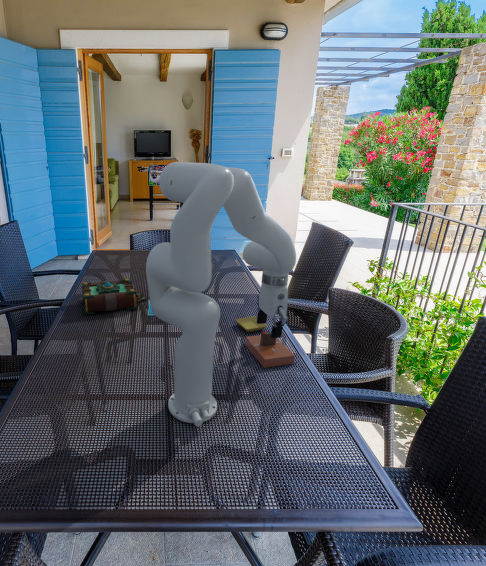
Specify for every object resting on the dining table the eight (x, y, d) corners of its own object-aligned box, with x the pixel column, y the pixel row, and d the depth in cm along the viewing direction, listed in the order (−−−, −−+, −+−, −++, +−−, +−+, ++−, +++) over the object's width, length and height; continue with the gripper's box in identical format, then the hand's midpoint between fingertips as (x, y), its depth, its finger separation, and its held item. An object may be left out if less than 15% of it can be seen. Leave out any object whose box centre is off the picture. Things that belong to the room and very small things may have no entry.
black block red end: (273, 341, 122) (274, 330, 121) (275, 344, 121) (276, 332, 119) (260, 343, 121) (261, 331, 120) (262, 346, 120) (263, 334, 118)
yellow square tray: (234, 323, 140) (234, 318, 140) (254, 320, 143) (255, 315, 142) (246, 334, 133) (246, 329, 132) (267, 330, 135) (267, 325, 135)
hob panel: (293, 363, 116) (295, 354, 115) (263, 367, 114) (264, 359, 113) (272, 341, 128) (273, 333, 127) (244, 344, 126) (245, 336, 125)
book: (141, 290, 171) (141, 269, 167) (152, 309, 152) (151, 286, 148) (82, 296, 164) (80, 274, 161) (84, 317, 145) (82, 293, 142)
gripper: (301, 288, 106) (293, 342, 112) (272, 269, 121) (266, 317, 127) (277, 290, 104) (270, 344, 110) (250, 270, 120) (246, 319, 126)
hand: (268, 330), depth 119 cm, fingers open, 9 cm apart
